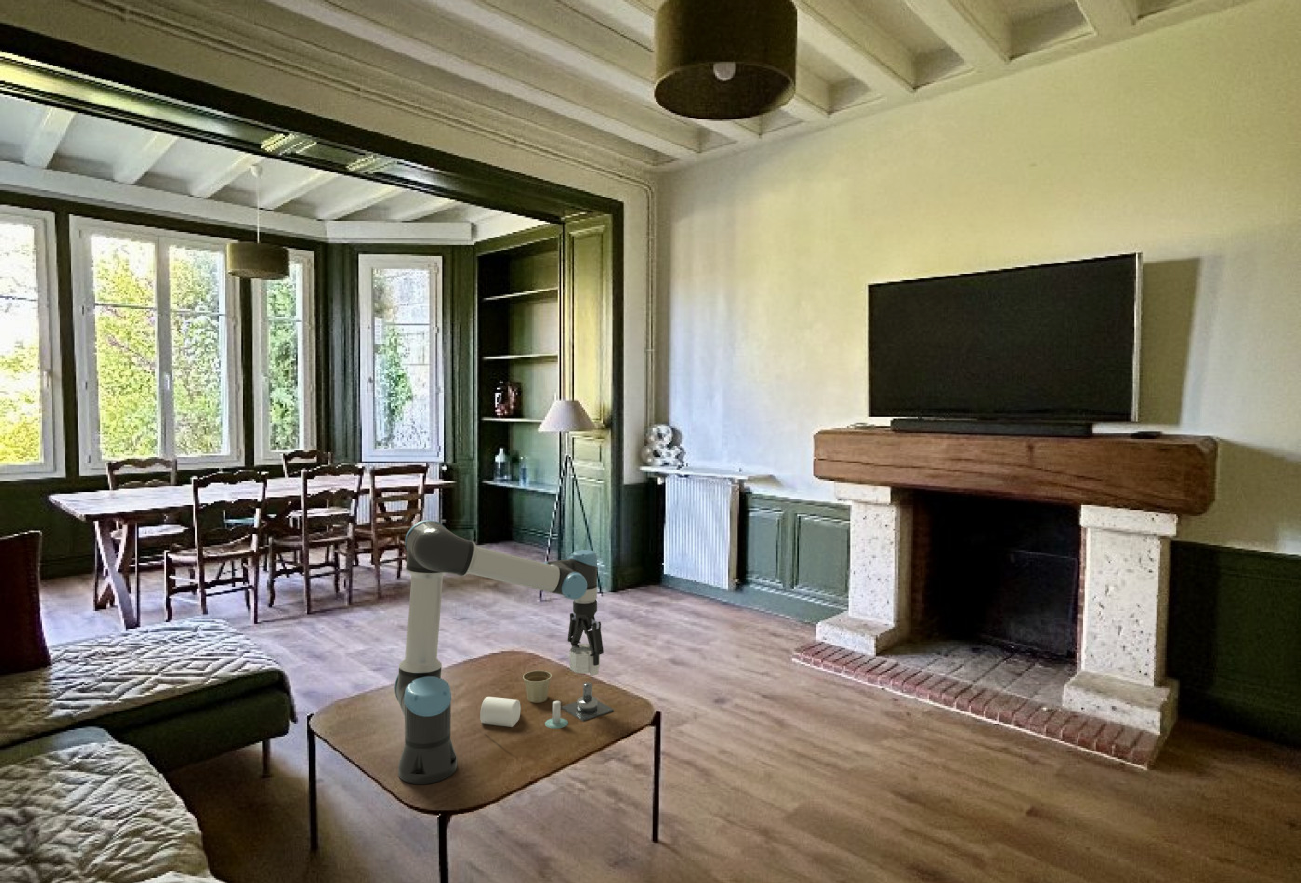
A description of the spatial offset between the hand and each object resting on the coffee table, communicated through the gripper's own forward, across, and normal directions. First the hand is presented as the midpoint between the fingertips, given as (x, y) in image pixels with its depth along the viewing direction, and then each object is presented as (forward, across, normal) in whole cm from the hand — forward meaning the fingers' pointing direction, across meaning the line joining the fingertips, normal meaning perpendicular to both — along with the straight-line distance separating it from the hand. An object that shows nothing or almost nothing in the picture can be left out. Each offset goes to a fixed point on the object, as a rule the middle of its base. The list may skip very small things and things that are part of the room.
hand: (585, 669), depth 229 cm
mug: (+14, +11, +23) cm, 29 cm away
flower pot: (+14, +18, +7) cm, 24 cm away
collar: (-1, 0, 0) cm, 1 cm away
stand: (+14, -2, +12) cm, 19 cm away
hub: (+14, +1, -1) cm, 15 cm away
